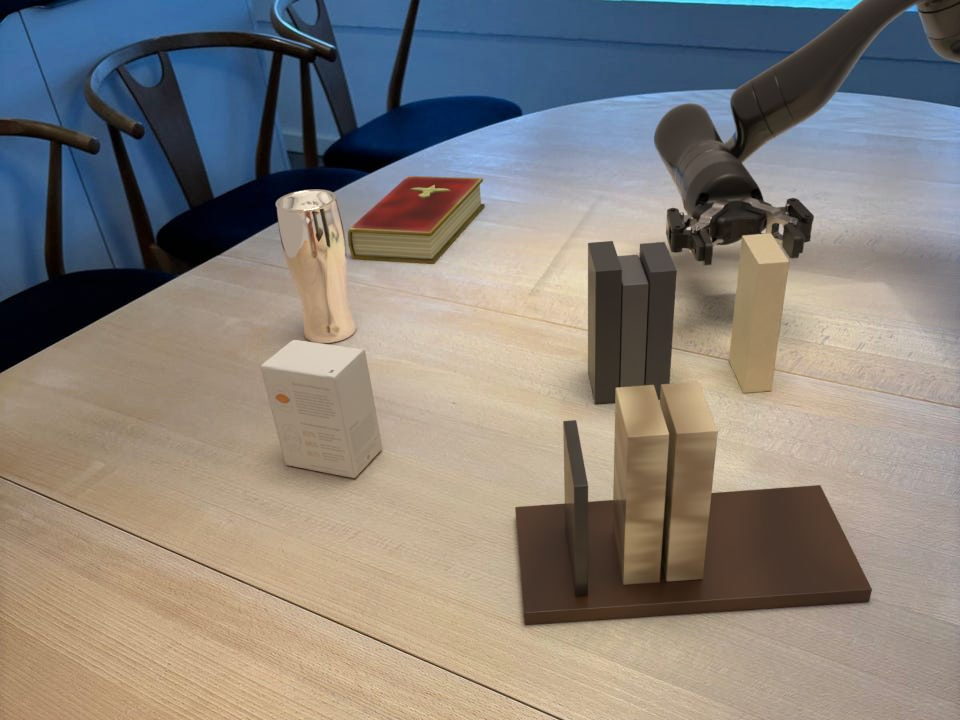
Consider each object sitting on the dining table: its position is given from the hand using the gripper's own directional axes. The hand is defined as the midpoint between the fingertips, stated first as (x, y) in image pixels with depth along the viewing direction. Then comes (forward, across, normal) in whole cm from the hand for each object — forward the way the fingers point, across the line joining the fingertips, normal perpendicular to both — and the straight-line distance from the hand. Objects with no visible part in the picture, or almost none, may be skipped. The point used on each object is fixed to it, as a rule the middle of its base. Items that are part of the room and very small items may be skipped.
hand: (752, 252), depth 96 cm
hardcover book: (-44, -35, +11) cm, 57 cm away
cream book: (+4, 0, +11) cm, 12 cm away
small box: (+14, -42, +11) cm, 46 cm away
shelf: (+33, -12, +11) cm, 37 cm away
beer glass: (-14, -45, +11) cm, 48 cm away
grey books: (+4, -12, +11) cm, 17 cm away
